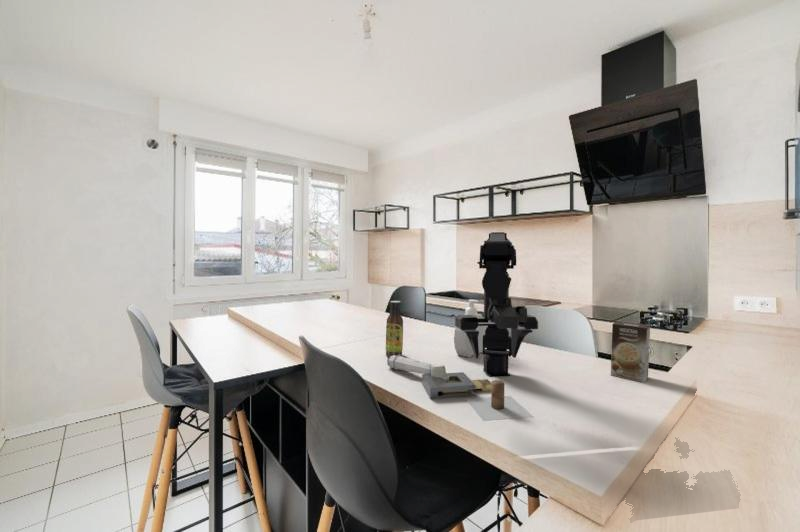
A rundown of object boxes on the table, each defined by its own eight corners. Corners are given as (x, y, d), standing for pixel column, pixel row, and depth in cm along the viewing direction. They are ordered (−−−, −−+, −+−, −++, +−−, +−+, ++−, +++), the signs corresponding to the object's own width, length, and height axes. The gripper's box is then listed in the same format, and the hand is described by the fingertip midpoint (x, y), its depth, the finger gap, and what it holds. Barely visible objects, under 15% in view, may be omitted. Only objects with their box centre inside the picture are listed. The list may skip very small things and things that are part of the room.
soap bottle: (466, 359, 126) (466, 303, 126) (453, 356, 130) (453, 301, 129) (488, 350, 138) (489, 298, 137) (476, 347, 142) (476, 297, 141)
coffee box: (609, 375, 110) (610, 323, 109) (614, 370, 114) (615, 320, 114) (645, 382, 104) (646, 327, 103) (649, 377, 108) (650, 324, 108)
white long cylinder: (397, 353, 119) (452, 361, 100) (399, 373, 119) (454, 385, 99) (384, 356, 116) (438, 364, 96) (386, 377, 116) (440, 389, 96)
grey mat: (510, 397, 93) (510, 395, 93) (533, 419, 81) (533, 416, 81) (465, 400, 91) (465, 398, 91) (483, 422, 79) (483, 420, 79)
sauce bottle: (383, 356, 129) (382, 301, 128) (389, 352, 135) (389, 299, 134) (399, 358, 127) (399, 302, 126) (405, 353, 133) (405, 300, 132)
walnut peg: (501, 404, 88) (501, 380, 88) (506, 409, 85) (506, 384, 85) (489, 404, 88) (489, 380, 87) (494, 410, 85) (494, 385, 84)
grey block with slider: (483, 382, 103) (483, 371, 103) (497, 396, 94) (497, 383, 93) (422, 386, 101) (422, 374, 101) (430, 400, 91) (430, 387, 91)
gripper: (468, 295, 77) (467, 368, 77) (551, 295, 79) (550, 366, 79) (454, 291, 88) (454, 355, 88) (527, 291, 90) (526, 353, 90)
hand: (495, 357), depth 86 cm, fingers open, 9 cm apart
